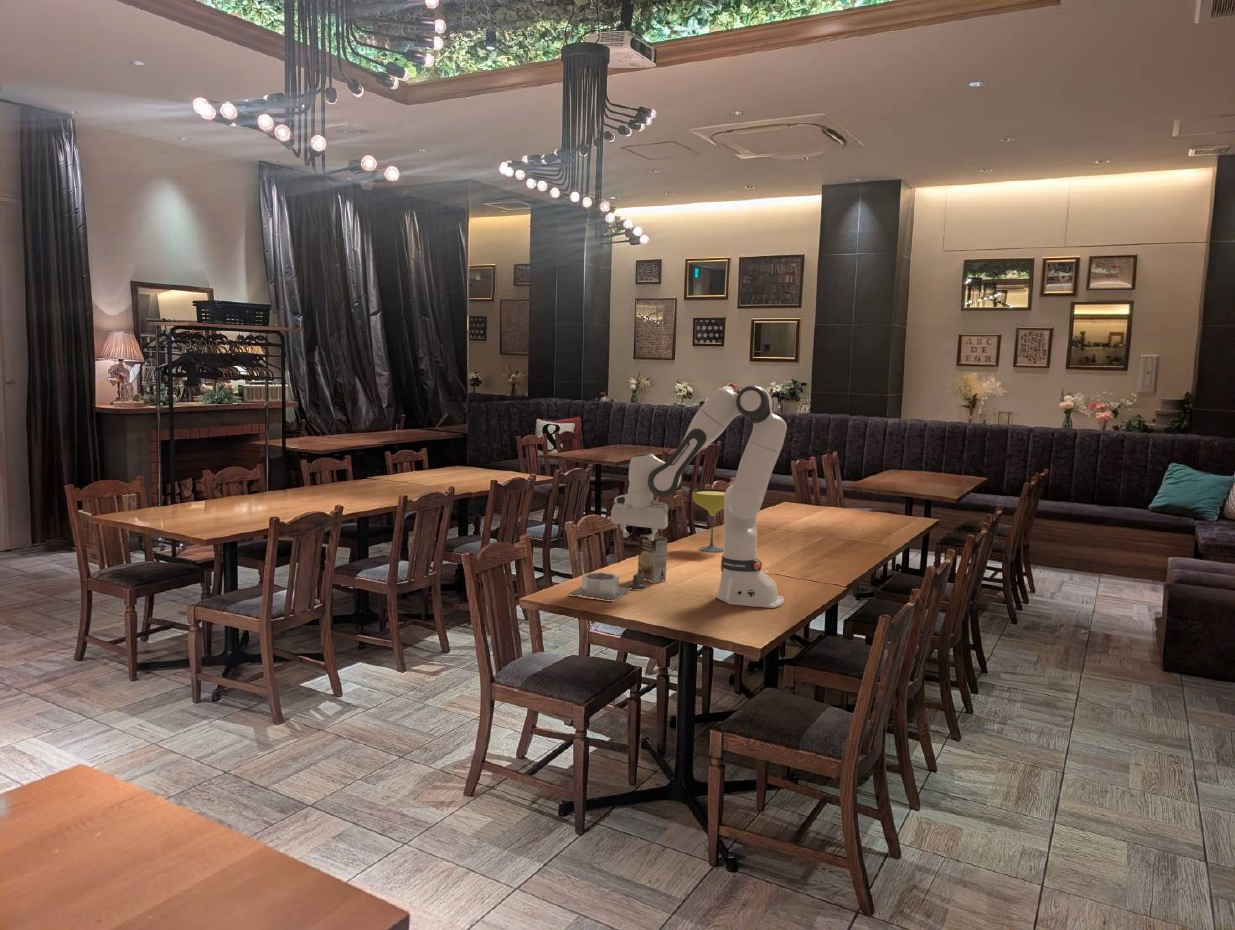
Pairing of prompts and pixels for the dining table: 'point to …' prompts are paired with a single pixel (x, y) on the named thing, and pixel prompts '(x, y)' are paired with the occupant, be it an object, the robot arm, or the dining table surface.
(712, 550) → the cocktail glass
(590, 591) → the octagonal nut on plate
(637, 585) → the cap
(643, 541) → the coffee box
